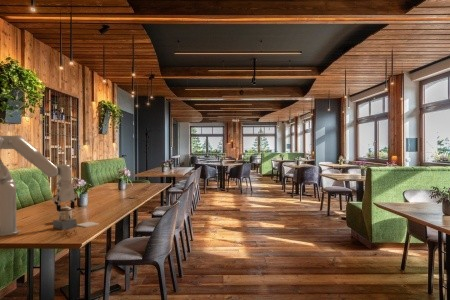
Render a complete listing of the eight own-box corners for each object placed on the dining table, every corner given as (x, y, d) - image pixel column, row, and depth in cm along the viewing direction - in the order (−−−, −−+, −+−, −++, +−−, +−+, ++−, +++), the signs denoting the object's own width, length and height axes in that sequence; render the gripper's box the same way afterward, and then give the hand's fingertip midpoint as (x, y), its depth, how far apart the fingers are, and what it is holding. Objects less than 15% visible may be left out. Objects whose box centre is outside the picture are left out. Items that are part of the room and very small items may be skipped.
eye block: (62, 229, 224) (62, 222, 224) (53, 228, 229) (53, 220, 229) (76, 226, 232) (76, 219, 232) (67, 225, 238) (67, 217, 237)
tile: (86, 227, 230) (86, 226, 230) (76, 225, 235) (76, 224, 235) (99, 224, 239) (99, 223, 239) (89, 222, 244) (89, 221, 244)
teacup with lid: (57, 223, 242) (57, 206, 242) (58, 220, 251) (58, 204, 251) (76, 222, 247) (76, 205, 247) (77, 219, 255) (76, 203, 255)
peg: (63, 228, 227) (63, 209, 227) (59, 227, 230) (59, 208, 230) (70, 227, 231) (70, 208, 231) (66, 226, 234) (65, 207, 234)
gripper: (55, 185, 221) (56, 212, 221) (80, 182, 236) (81, 208, 236) (48, 184, 225) (49, 211, 225) (73, 181, 240) (74, 207, 240)
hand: (65, 209), depth 231 cm, fingers open, 9 cm apart
